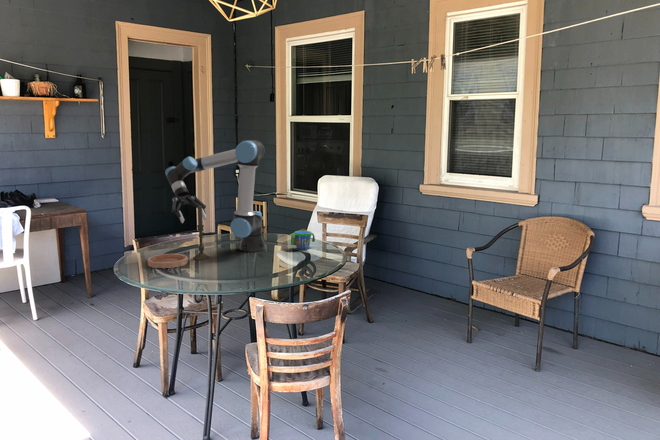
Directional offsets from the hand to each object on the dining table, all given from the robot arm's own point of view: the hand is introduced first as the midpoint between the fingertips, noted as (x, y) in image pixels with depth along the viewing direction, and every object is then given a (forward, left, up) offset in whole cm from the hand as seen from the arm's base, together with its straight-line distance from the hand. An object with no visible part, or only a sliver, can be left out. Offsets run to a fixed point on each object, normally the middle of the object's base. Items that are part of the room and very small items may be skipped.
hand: (194, 220), depth 290 cm
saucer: (+14, +13, -21) cm, 28 cm away
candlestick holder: (-3, +4, -21) cm, 22 cm away
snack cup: (-62, -11, -21) cm, 67 cm away
